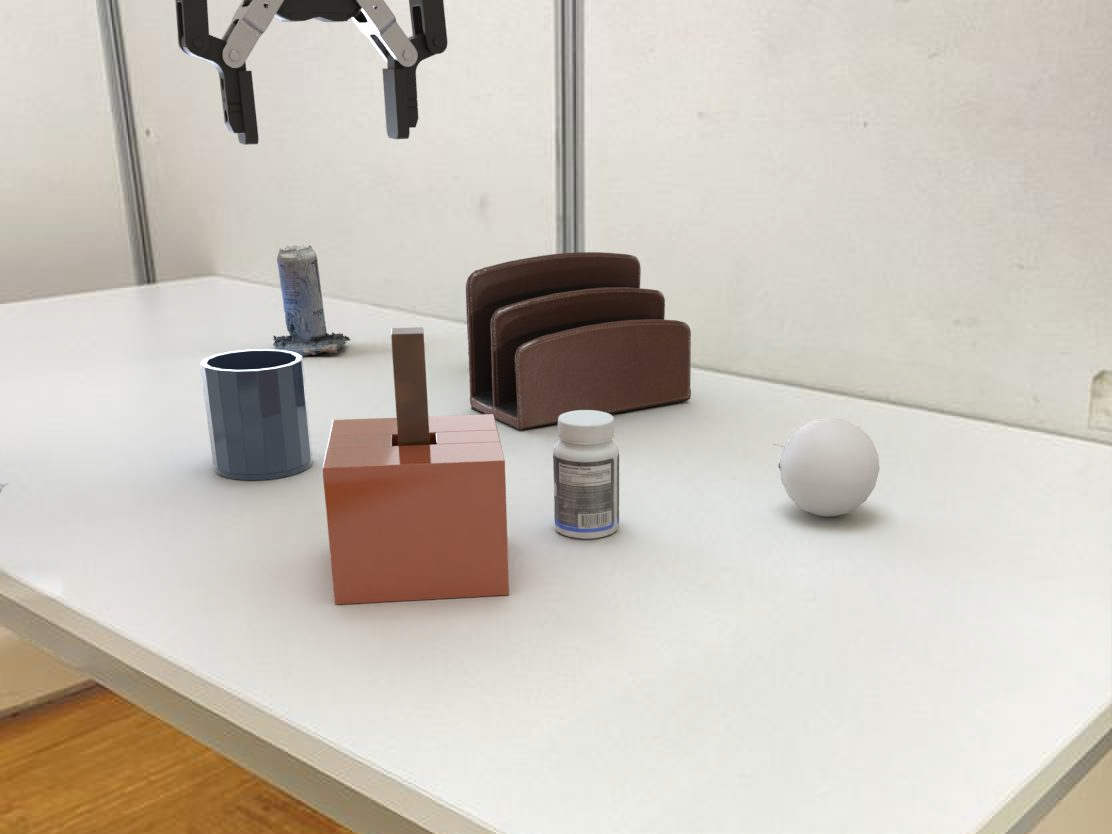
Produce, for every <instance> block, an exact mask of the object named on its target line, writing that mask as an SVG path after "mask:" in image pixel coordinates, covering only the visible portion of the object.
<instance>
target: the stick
mask: <svg viewBox="0 0 1112 834" xmlns="http://www.w3.org/2000/svg"><path fill="white" fill-rule="evenodd" d="M390 338H391V339H390V340H391V355H392V369H393V370H392V371H393V385H394V386H393V387H394V398H395V399H394V400H395V413H396V415H395V416H396V418H397V431H398V446H412V445H430V436H429V419H428V416H429V404H428V402H429V401H428V385H427V366H426V350H425V331H424V327H421V326H420V327H417V326H415V327H392V328H391V331H390Z"/></svg>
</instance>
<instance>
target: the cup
mask: <svg viewBox="0 0 1112 834" xmlns="http://www.w3.org/2000/svg"><path fill="white" fill-rule="evenodd" d="M199 366H200V373H201V381H202V389H203V398H204V404H205V412H206V420H207V429H208V435H209V443H210V450H211V459H212V464H213V468H214V472H215V473H216V474H217V475H218V476H220V477H223V478H226V479H230V480H239V481H265V480H276V479H281V478H287V477H291V476H294V475H297V474H300V473H302V472H304V471H306V470H308V469H310V468H311V466H312V465H313V450H312V449H313V447H312V437H311V428H310V418H309V417H310V416H309V408H308V397H307V396H308V395H307V389H306V388H307V385H306V376H305V365H304V357H302V356H301V355H299V354H298V353H295V352H293V351H291V352H290V351H285V350H275V349H267V348H264V349H263V348H262V349H259V348H258V349H243V350H234V351H227V352H223V353H222V352H221V353H216V354H213V355H210V356H208V357H206V358H204V359H202V360H201V362H200V363H199Z"/></svg>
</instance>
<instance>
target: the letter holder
mask: <svg viewBox="0 0 1112 834" xmlns="http://www.w3.org/2000/svg"><path fill="white" fill-rule="evenodd" d="M641 270H642V268H641V263H640V259H639V258H638V257H637V256H636V255H632V254H628V253H616V252H601V251H581V252H579V251H578V252H575V251H574V252H563V253H562V252H560V253H552V254H551V253H550V254H544V255H538V256H537V255H536V256H531V257H525V258H519V259H515V260H510V261H505V262H501V263H497V264H494V265H490V266H485V267H482V268H480V269H476V270H474V271H473V272H471V273H470V275H469V276H468V277H467V280H466V282H465V305H466V306H465V308H466V309H465V310H466V327H467V328H466V329H467V331H466V332H467V345H468V346H467V349H468V351H467V354H468V375H469V404H470V409H471V410H475V411H477V412H480V413H482V414H494V417H495V420H496V421H498V422H500V423H503V424H505V425H508V426H510V427H512V428H515V429H516V430H518V431H522V430H528V429H532V428H538V427H545V426H550V425H556V424H558V417H559V416H560V415H561V414H563V413H566V412H570V411H576V410H595V411H601V412H605V413H608V414H610V415H612V414H613V415H614V414H619V413H623V412H628V411H629V412H630V411H635V410H640V409H646V408H652V407H658V406H664V405H669V404H677V403H681V402H688V401H689V400H691V397H692V390H691V373H692V372H691V369H692V368H691V363H692V361H691V359H692V356H691V354H692V353H691V350H692V347H691V346H692V345H691V343H692V340H691V339H692V330H691V328H690V326H689V324H687V323H686V322H684V321H681V320H676V319H665V316H666V315H665V314H666V311H665V309H666V303H665V302H666V298H665V295H664V293H663V292H662V291H661V290H658V289H653V288H652V289H651V288H641V276H642V275H641V273H642V271H641Z"/></svg>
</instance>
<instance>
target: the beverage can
mask: <svg viewBox="0 0 1112 834" xmlns="http://www.w3.org/2000/svg"><path fill="white" fill-rule="evenodd" d="M276 261H277V268H278V269H277V270H278V276H279V283H280V290H281V297H282V305H283V311H284V318H285V326H286V331H287V332H288V333H289V335H281V336H276V335H272V336H273V338H272V340H273V341H274V342H273V343H272V346H273V347H274V350H285V351H290V352H295V353H298V354H299V355H301V356H302V357H303V358H305V357H307V356H310V355H312V356H315V355H316V354H319V353H320V354H322V353H324V352H325V353H328V354H334V353H335V354H336V353H337V354H338V351H340V348H341V347H345V346H346V344H347V343H348V342H350V341H351V338H350V336H347V335H344V334H343V333H341V332H339V333H334V332H333V331H332V332H331V334H330V333H328V331H327V325H326V318H325V316H326V315H325V310H324V302H323V293H322V285H321V278H320V271H319V263H318V256H317V253H316V251H315V250H314V249H313V246H312V245H309V244H308V246H307V245H292V246H290V245H289V246H288V245H287V246H286V247H284V248H281V247H280V248H279V250H278V254H277V256H276Z"/></svg>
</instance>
